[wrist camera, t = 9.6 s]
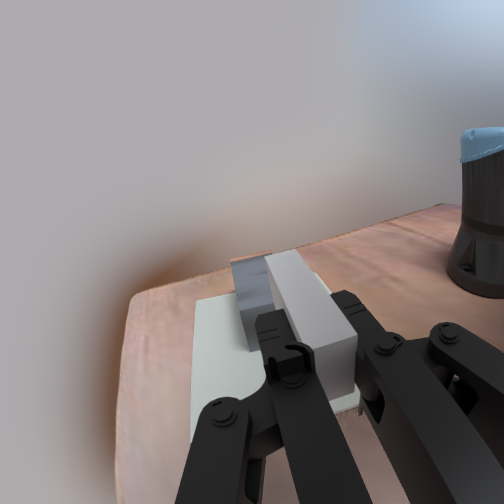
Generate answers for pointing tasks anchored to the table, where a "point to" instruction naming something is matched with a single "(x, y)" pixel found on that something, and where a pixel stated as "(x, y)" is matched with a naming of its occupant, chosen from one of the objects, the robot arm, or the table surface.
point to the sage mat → (230, 358)
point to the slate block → (252, 292)
